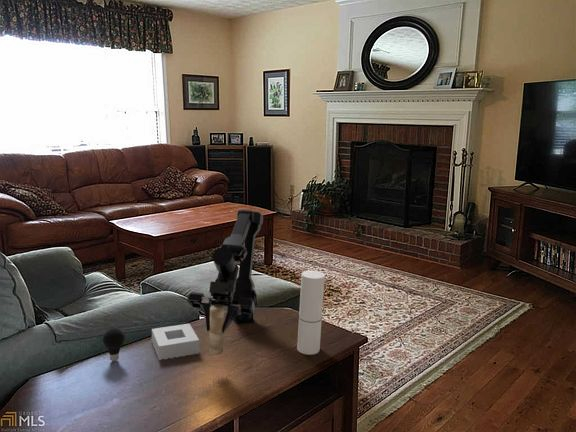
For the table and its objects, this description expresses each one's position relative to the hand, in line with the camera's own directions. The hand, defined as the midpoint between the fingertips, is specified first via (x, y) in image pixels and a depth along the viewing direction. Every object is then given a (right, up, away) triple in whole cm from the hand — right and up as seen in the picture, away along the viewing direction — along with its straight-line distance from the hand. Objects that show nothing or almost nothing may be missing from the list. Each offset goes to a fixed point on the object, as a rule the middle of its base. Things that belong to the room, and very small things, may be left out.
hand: (215, 331), depth 132 cm
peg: (0, -6, +3) cm, 7 cm away
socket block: (-15, -9, +16) cm, 23 cm away
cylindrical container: (+27, -10, +19) cm, 34 cm away
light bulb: (-30, -10, +6) cm, 33 cm away
